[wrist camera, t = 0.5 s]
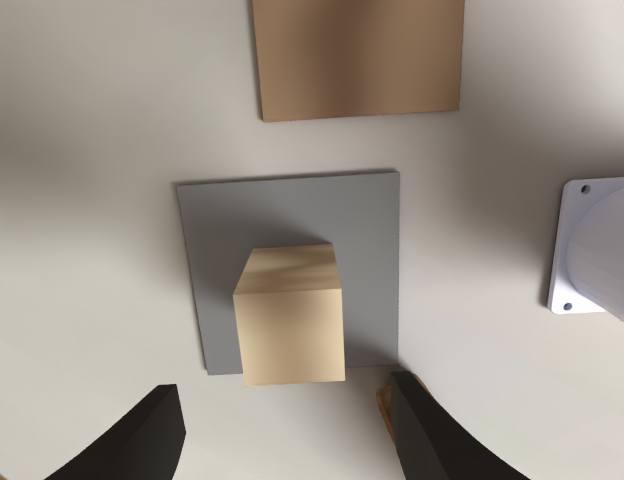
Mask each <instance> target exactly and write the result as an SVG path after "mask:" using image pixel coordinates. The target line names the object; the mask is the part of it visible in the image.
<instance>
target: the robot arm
mask: <svg viewBox="0 0 624 480" xmlns="http://www.w3.org/2000/svg"><path fill="white" fill-rule="evenodd" d="M584 185H585V186H586V189H585V191H584V192H583V193H581V189H582V187H583V186H584ZM566 303H568V304H567V306H566V307H563V306H564V305H565V304H566ZM547 307H548V309H549V310H550V311H551V312H552V313H554V314H572V313H589V312H606V311H607V312H609V313H610V314H612V315H614V316H615V317H617V318H618V319H620V320H621V321H623V322H624V177H614V178H597V179H581V180H572V181H569V182H568V183H566V185H565V186H564V189H563V195H562V202H561V209H560V217H559V224H558V231H557V239H556V246H555V253H554V260H553V268H552V275H551V282H550V289H549V297H548V304H547ZM391 425H392V430H393V435H394V440H395V444H396V449H397V453H398V456H399V459H400V463H401V466H402V469H403V472H404V475H405V478H406V480H530V479H529V478H527V477H526V476H524V475H523V474H522V473H520V472H519V471H517V470H516V469H514V468H513V467H511V466H510V465H508V464H507V463H506V462H504V461H503V460H502V459H500V458H499V457H498V456H496V455H495V454H494V453H492V452H491V451H490V450H489V449H487V448H486V447H485V446H484V445H482V444H481V443H480V442H479V441H478V440H476V439H475V438H474V437H473V436H472V435H471V434H470V433H469V432H467V431H466V430H465V429H464V428H463V427H462V426H461V425H460V424H459V423H458V422H457V421H456V420H455V419H454V418H453V417H452V416H451V415H450V414H449V413H448V412H447V411H446V410H445V409H444V408H443V407H442V406H441V405H440V404H439V403H438V402H437V401H436V400H435V399H434V398H433V397H432V396H431V395H430V393H429V392H428V391H427V390H426V389H425V388H424V387H423V386H422V384H421V383H420V382H419V381H418V380H417V379H416V377H415V376H414V375H413V374H412V373H411V372H410V371H401V372H391ZM185 436H186V430H185V425H184V420H183V415H182V410H181V405H180V400H179V395H178V390H177V385H176V384H169V385H158V386H157V387H156V388H154V389H153V390H152V391H151V392H150V393H149V394H147V395H146V396H145V397H144V398H143V399H142V400H141V401H140V402H139V403H138V404H136V405H135V406H134V407H133V408H132V409H131V410H130V411H129V412H128V413H127V414H125V415H124V416H123V417H122V418H121V419H120V420H119V421H118V422H116V423H115V424H114V425H113V426H112V427H111V428H110V429H109V430H107V431H106V432H105V433H104V434H103V435H101V436H100V437H99V438H98V439H97V440H95V441H94V442H93V443H92V444H90V445H89V446H88V447H87V448H86V449H84V450H83V451H82V452H81V453H80V454H78V455H77V456H76V457H74V458H73V459H72V460H70V461H69V462H68V463H66V464H65V465H64V466H62V467H61V468H60V469H58V470H57V471H55V472H54V473H53V474H51V475H50V476H49V477H47V478H46V479H44V480H172V478H173V476H174V473H175V471H176V468H177V465H178V462H179V458H180V455H181V451H182V447H183V443H184V440H185Z"/></svg>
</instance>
